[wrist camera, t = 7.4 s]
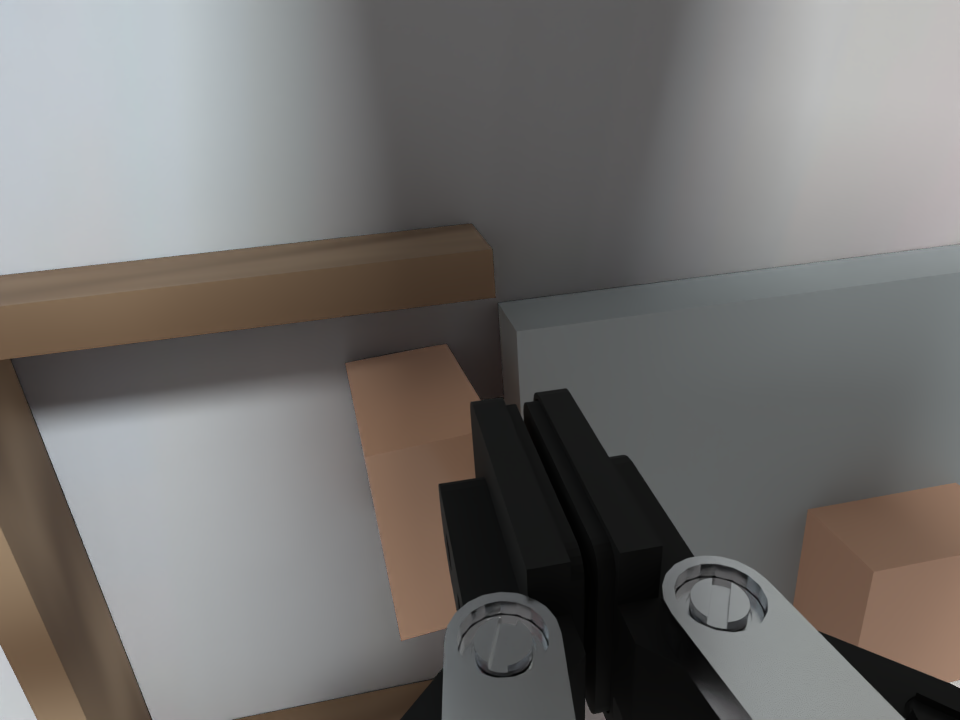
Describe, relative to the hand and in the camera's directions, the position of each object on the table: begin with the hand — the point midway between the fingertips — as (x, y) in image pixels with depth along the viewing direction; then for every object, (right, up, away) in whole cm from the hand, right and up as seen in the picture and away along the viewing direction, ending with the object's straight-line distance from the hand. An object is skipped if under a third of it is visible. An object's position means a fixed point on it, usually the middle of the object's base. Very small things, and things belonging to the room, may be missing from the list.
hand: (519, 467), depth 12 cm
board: (+7, -1, +8) cm, 11 cm away
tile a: (-1, -1, +4) cm, 4 cm away
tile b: (+10, -4, +8) cm, 14 cm away
